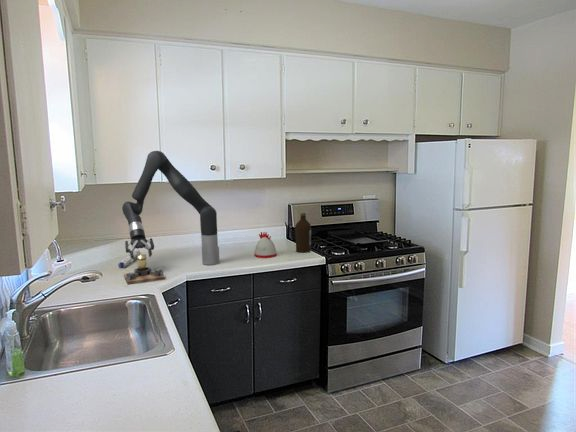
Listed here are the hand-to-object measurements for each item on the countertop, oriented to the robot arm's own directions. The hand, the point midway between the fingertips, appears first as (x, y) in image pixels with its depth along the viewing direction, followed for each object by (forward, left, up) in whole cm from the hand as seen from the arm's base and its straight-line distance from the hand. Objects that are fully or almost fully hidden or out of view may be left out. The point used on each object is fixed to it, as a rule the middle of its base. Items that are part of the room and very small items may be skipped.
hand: (141, 256), depth 216 cm
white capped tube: (+2, -33, -11) cm, 35 cm away
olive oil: (-101, -7, -10) cm, 102 cm away
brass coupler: (0, +2, -9) cm, 9 cm away
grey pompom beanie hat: (-75, -9, -10) cm, 76 cm away
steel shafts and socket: (0, +4, -9) cm, 10 cm away
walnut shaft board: (0, +5, -10) cm, 11 cm away
